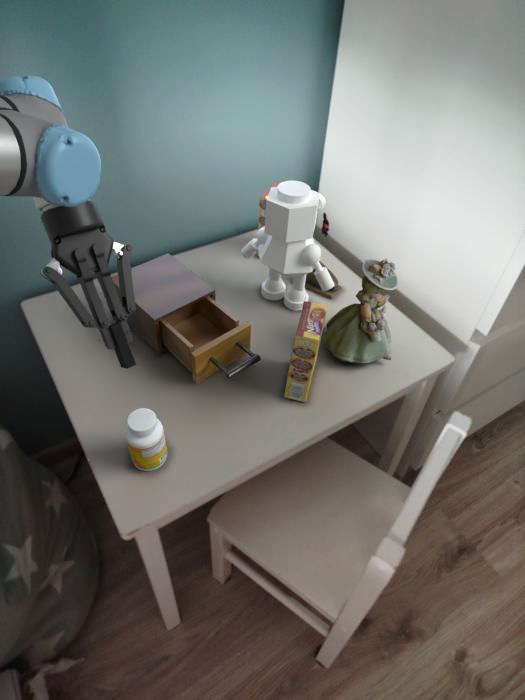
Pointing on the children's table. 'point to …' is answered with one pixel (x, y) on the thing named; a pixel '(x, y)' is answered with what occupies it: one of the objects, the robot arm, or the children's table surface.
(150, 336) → the cabinet
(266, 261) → the robot toy
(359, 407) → the children's table surface
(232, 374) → the drawer
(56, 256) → the robot arm
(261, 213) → the candy box
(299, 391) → the candy box
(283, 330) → the children's table surface
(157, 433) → the supplement bottle
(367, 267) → the figurine
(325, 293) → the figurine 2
